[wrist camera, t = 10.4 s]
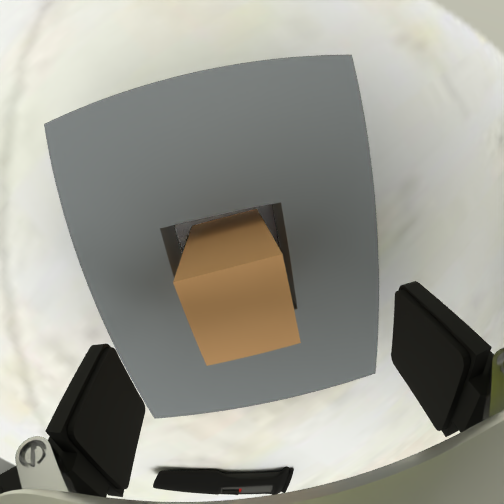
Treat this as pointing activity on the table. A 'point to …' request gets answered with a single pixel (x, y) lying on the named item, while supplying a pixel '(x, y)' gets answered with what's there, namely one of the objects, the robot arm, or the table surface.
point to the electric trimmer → (224, 482)
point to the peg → (235, 289)
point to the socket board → (221, 202)
